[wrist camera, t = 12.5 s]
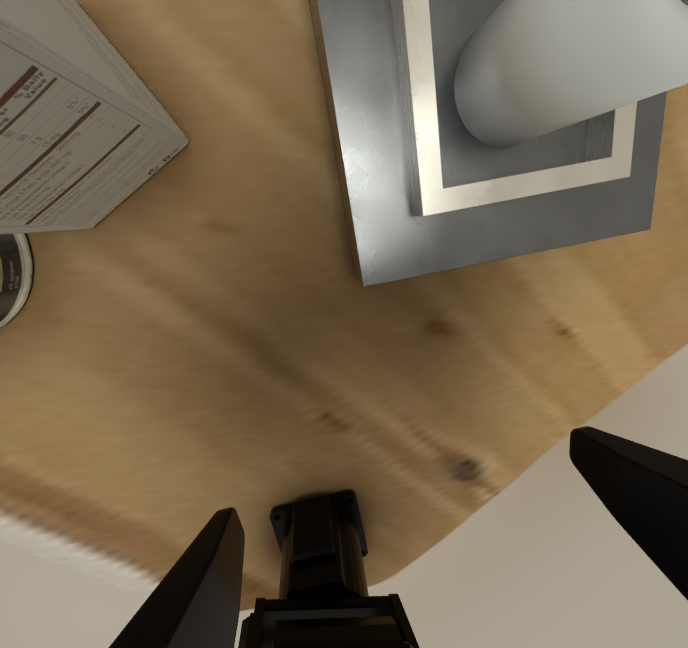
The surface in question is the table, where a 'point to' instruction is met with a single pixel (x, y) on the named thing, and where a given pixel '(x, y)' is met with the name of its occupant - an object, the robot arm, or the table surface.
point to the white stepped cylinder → (566, 63)
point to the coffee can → (14, 274)
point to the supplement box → (71, 121)
